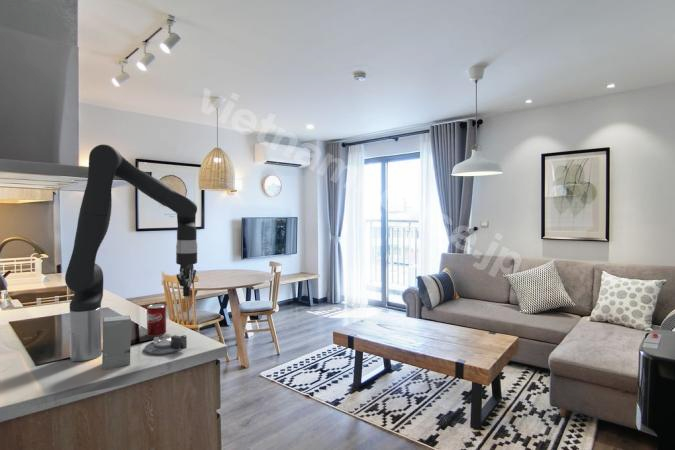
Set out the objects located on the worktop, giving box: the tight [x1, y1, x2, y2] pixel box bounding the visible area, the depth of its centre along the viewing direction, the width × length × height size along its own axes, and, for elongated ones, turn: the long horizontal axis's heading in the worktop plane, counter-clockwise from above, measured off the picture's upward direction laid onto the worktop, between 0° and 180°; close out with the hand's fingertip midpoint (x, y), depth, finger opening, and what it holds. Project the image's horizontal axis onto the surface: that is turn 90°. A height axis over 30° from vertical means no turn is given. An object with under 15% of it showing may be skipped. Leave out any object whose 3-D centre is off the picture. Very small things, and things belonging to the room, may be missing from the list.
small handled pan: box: [153, 333, 188, 350], centre depth 141 cm, size 14×8×5 cm, turn 61°
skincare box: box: [101, 315, 132, 370], centre depth 128 cm, size 8×7×16 cm
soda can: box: [146, 303, 167, 338], centre depth 158 cm, size 7×7×12 cm
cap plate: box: [144, 341, 183, 356], centre depth 143 cm, size 14×14×1 cm
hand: (186, 296), depth 146 cm, fingers closed
